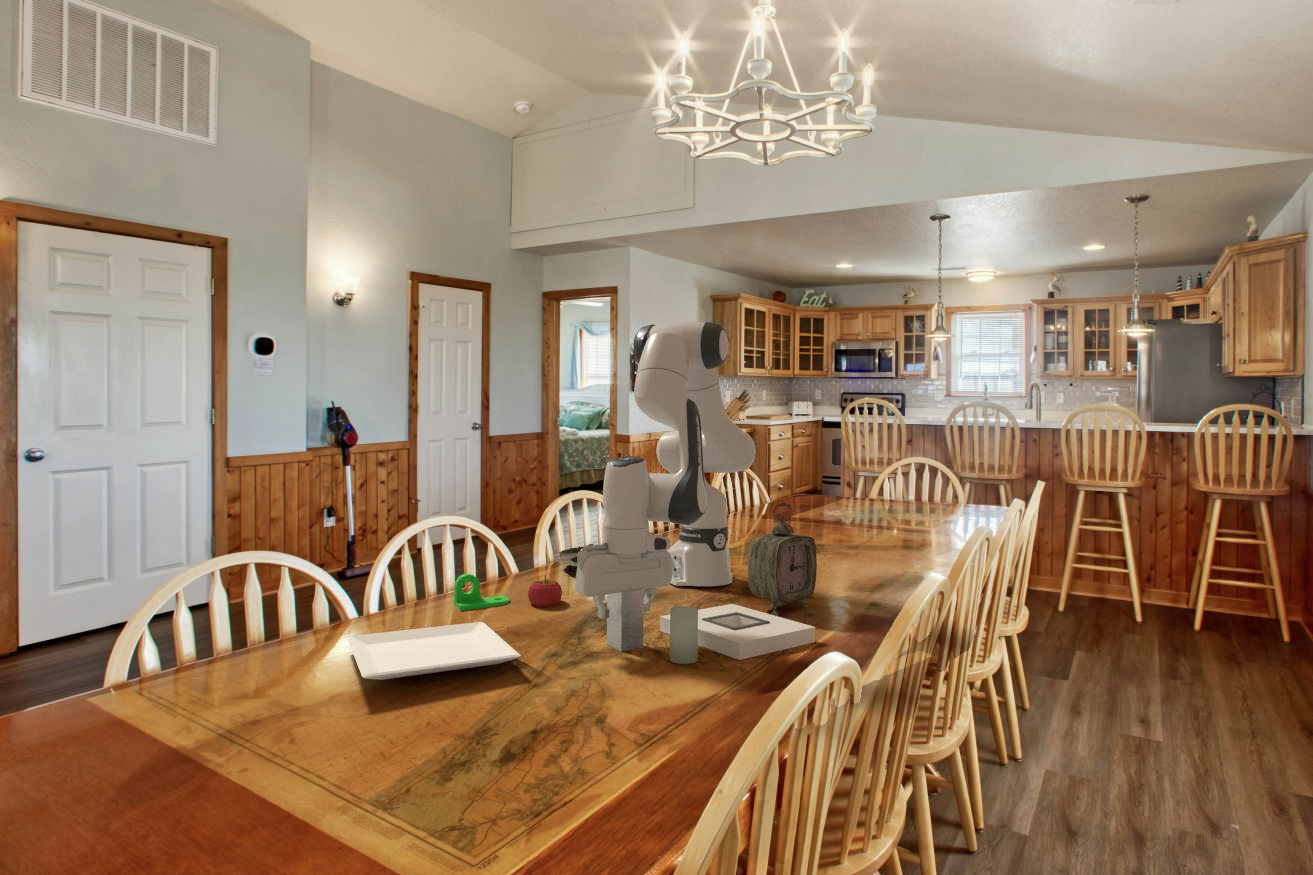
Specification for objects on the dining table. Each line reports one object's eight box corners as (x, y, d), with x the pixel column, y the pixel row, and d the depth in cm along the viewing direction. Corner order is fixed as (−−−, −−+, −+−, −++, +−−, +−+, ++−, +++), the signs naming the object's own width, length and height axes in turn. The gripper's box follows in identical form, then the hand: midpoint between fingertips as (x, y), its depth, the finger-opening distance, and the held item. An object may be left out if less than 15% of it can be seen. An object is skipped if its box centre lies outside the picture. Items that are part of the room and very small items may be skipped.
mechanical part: (460, 614, 168) (460, 579, 167) (454, 609, 173) (454, 574, 173) (512, 609, 173) (512, 574, 173) (505, 603, 178) (505, 570, 178)
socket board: (659, 630, 154) (659, 614, 154) (732, 617, 166) (732, 602, 166) (739, 659, 135) (739, 641, 135) (815, 642, 147) (815, 625, 147)
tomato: (565, 604, 177) (565, 572, 177) (558, 612, 169) (558, 578, 169) (532, 603, 178) (532, 571, 178) (523, 611, 170) (523, 577, 170)
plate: (362, 688, 120) (362, 675, 120) (346, 646, 143) (346, 635, 143) (521, 666, 132) (521, 654, 132) (483, 630, 155) (483, 620, 155)
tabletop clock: (775, 621, 163) (776, 506, 163) (744, 613, 170) (745, 503, 169) (816, 611, 172) (817, 502, 172) (785, 604, 179) (786, 499, 179)
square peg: (606, 645, 144) (607, 587, 144) (628, 641, 147) (628, 584, 147) (621, 651, 140) (621, 592, 140) (643, 647, 143) (643, 589, 143)
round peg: (664, 658, 136) (664, 608, 136) (685, 653, 139) (686, 605, 139) (681, 665, 132) (681, 614, 132) (703, 660, 135) (703, 610, 135)
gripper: (587, 548, 134) (586, 625, 134) (677, 540, 146) (676, 611, 146) (569, 543, 139) (568, 618, 139) (658, 536, 151) (657, 605, 151)
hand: (624, 614), depth 143 cm, fingers open, 8 cm apart
